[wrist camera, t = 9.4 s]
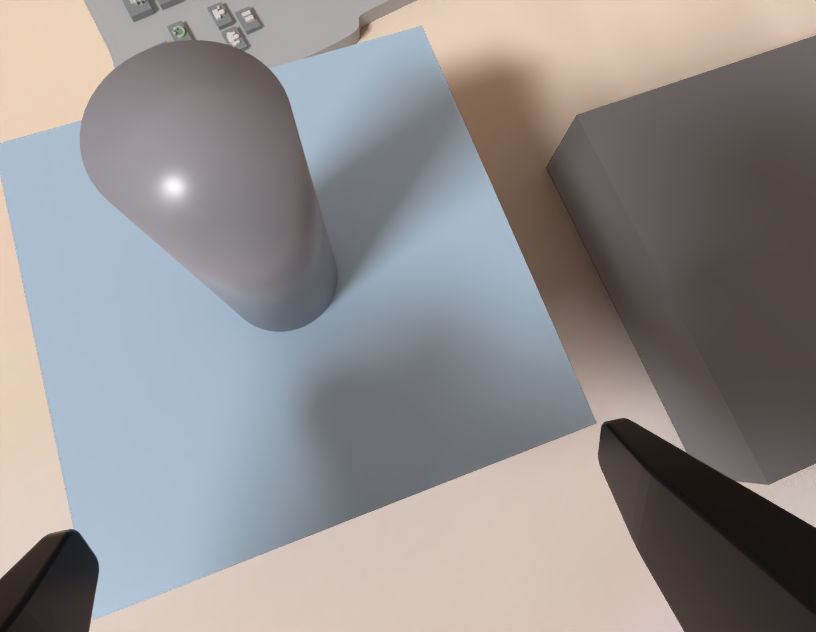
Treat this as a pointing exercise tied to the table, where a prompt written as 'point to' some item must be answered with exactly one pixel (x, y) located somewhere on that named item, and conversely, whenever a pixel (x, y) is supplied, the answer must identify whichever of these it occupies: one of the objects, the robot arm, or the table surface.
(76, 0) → the table surface
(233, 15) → the office telephone
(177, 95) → the square plate with knob
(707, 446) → the gray square slab
